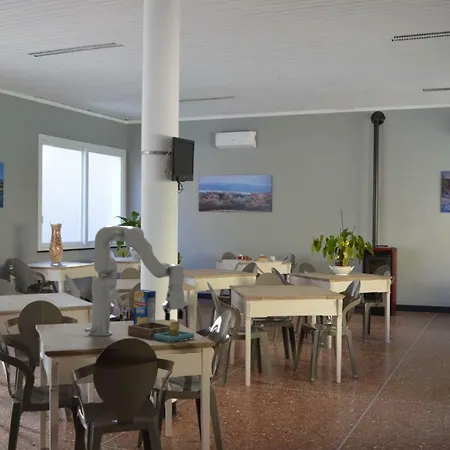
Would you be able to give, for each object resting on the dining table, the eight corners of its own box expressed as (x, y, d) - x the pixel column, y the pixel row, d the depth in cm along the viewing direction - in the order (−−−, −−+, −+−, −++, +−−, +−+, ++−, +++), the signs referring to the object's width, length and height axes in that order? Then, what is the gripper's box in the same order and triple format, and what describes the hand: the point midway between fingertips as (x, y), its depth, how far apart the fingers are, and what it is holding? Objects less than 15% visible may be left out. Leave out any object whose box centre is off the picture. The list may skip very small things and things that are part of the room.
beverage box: (146, 330, 367) (147, 291, 367) (133, 327, 373) (134, 290, 373) (154, 328, 372) (156, 291, 372) (141, 326, 379) (142, 289, 379)
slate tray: (170, 343, 329) (170, 337, 329) (154, 339, 337) (154, 334, 337) (193, 338, 343) (194, 333, 343) (178, 335, 350) (178, 330, 350)
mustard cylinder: (174, 337, 336) (174, 322, 336) (167, 336, 339) (168, 321, 339) (180, 336, 340) (181, 321, 340) (174, 335, 343) (174, 320, 343)
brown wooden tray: (150, 338, 339) (150, 329, 339) (127, 334, 350) (128, 325, 350) (174, 335, 352) (174, 326, 352) (151, 330, 364) (152, 322, 364)
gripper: (168, 289, 331) (167, 322, 331) (191, 287, 344) (190, 319, 344) (158, 287, 336) (157, 320, 336) (181, 286, 349) (180, 317, 349)
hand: (173, 319), depth 340 cm, fingers open, 9 cm apart
